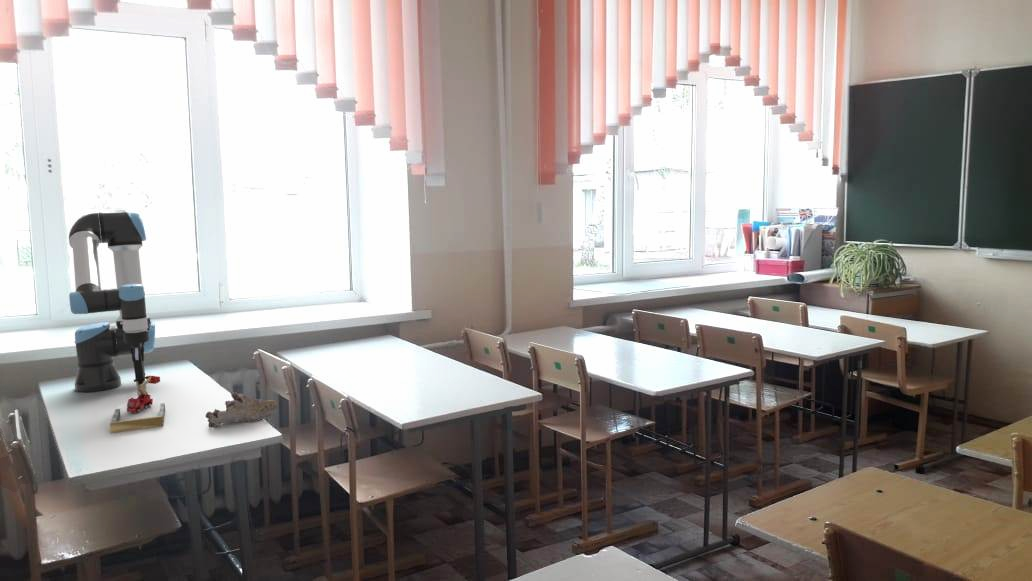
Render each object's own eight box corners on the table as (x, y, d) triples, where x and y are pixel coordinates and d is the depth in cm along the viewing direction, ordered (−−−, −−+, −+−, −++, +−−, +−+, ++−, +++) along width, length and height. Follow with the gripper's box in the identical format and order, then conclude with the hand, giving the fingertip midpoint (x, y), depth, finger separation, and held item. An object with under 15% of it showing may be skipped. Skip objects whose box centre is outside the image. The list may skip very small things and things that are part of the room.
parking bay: (116, 416, 249) (115, 407, 248) (165, 410, 254) (164, 401, 254) (110, 433, 232) (109, 423, 232) (163, 426, 238) (162, 416, 237)
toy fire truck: (125, 413, 251) (126, 384, 249) (150, 401, 264) (151, 373, 263) (134, 414, 250) (135, 385, 249) (159, 402, 264) (160, 375, 262)
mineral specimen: (219, 416, 228) (210, 388, 232) (206, 434, 233) (198, 406, 238) (282, 412, 242) (273, 385, 247) (269, 429, 248) (260, 402, 252)
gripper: (124, 328, 262) (131, 395, 265) (121, 335, 250) (128, 405, 253) (149, 326, 265) (155, 393, 268) (146, 332, 253) (153, 402, 256)
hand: (142, 399), depth 261 cm, fingers closed
